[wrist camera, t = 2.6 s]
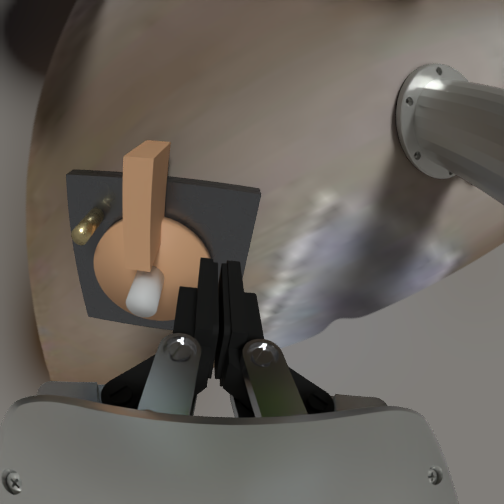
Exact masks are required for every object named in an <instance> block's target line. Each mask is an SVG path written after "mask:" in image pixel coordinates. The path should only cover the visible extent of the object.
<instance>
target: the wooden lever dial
mask: <svg viewBox="0 0 504 504" xmlns="http://www.w3.org/2000/svg"><path fill="white" fill-rule="evenodd" d="M170 144H171V142H163V141H150V140H146V141H145V142H143V143H142V144H140V145H139V146H138V147H136V148H135V149H133V150H132V151H130V152H129V153H128V154H126V155H125V156H124V158H123V219H121V220H119V221H118V222H116V223H115V224H113V225H112V226H111V227H110V228H109V229H108V230H107V231H106V232H105V234H104V235H103V237H102V238H101V240H100V241H99V243H98V245H97V247H96V250H95V254H94V271H95V275H96V278H97V280H98V283H99V285H100V286H101V288H102V290H103V291H104V293H105V294H106V295H107V296H108V297H109V298H110V299H111V300H112V301H113V302H114V303H115V304H116V305H118V306H119V307H120V308H122V309H123V310H125V311H127V312H129V313H131V314H133V315H135V316H138V317H141V318H145V319H149V320H157V321H168V320H175V313H176V306H177V299H178V293H179V287H180V286H184V287H193V288H197V286H198V277H199V267H200V258H201V257H202V258H211V257H210V255H209V252H208V250H207V248H206V247H205V245H204V243H203V242H202V241H201V240H200V238H199V237H198V236H197V235H196V234H195V233H194V232H193V231H191V230H190V229H189V228H187V227H186V226H184V225H183V224H181V223H179V222H177V221H175V220H173V219H171V218H167V217H164V213H165V197H166V184H167V173H168V162H169V153H170Z"/></svg>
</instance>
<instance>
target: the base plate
mask: <svg viewBox="0 0 504 504" xmlns="http://www.w3.org/2000/svg"><path fill="white" fill-rule="evenodd" d="M66 182H67V197H68V209H69V218H70V226H71V237H72V241H73V247H74V253H75V259H76V265H77V270H78V275H79V280H80V284H81V289H82V293H83V297H84V301H85V305H86V309H87V313H88V316H89V317H94V318H99V319H104V320H110V321H115V322H121V323H127V324H133V325H139V326H146V327H153V328H160V329H167V330H173V328H174V320H168V321H157V320H149V319H145V318H141V317H138V316H135V315H133V314H131V313H129V312H127V311H125V310H123V309H122V308H120V307H119V306H118V305H116V304H115V303H114V302H113V301H112V300H111V299H110V298H109V297H108V296H107V295H106V294H105V293H104V291H103V290H102V288H101V286H100V285H99V283H98V280H97V278H96V275H95V271H94V254H95V250H96V247H97V245H98V243H99V241H100V240H101V238H102V237H103V235H104V234H105V232H106V231H107V230H108V229H109V228H110V227H111V226H112V225H113V224H115V223H116V222H118V221H119V220H121V219H123V172H110V171H93V170H72V171H71V172H69V173H68V174H66ZM260 198H261V192H260V189H259V188H253V187H246V186H240V185H233V184H226V183H219V182H211V181H203V180H195V179H187V178H178V177H169V176H167V184H166V197H165V213H164V217H167V218H171V219H173V220H175V221H177V222H179V223H181V224H183V225H184V226H186V227H187V228H189V229H190V230H191V231H193V232H194V233H195V234H196V235H197V236H198V237H199V238H200V240H201V241H202V242H203V243H204V245H205V247H206V248H207V250H208V252H209V255H210V257H211V259H213V262H216V263H218V283H219V276H220V270H221V264H222V263H226V262H227V260H229V261H239V262H240V264H241V273H242V278H243V274H244V269H245V265H246V260H247V256H248V251H249V247H250V242H251V238H252V233H253V229H254V224H255V220H256V215H257V211H258V207H259V202H260Z"/></svg>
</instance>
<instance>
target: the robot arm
mask: <svg viewBox="0 0 504 504" xmlns="http://www.w3.org/2000/svg"><path fill="white" fill-rule="evenodd" d="M396 125H397V131H398V137H399V140H400V143H401V146H402V148H403V150H404V152H405V154H406V156H407V158H408V159H409V160H410V162H411V163H412V164H413V165H414V166H415V167H416V168H417V169H418V170H420V171H421V172H423V173H425V174H426V175H428V176H431V177H433V178H438V179H446V178H451V177H453V176H456V175H457V176H459V177H461V178H462V179H464V180H466V181H467V182H469V183H471V184H472V185H474V186H475V187H477V188H479V189H480V190H482V191H483V192H485V193H486V194H488V195H489V196H491V197H492V198H494V199H495V200H497V201H498V202H500V203H501V204H503V205H504V89H502V88H498V87H493V86H488V85H483V84H478V83H473V82H468V80H467V79H466V78H465V77H464V76H463V75H462V74H461V73H460V72H459V71H457V70H456V69H454V68H452V67H450V66H447V65H444V64H426V65H423V66H421V67H418V68H417V69H416V70H414V71H413V72H412V73H411V74H410V75H409V76H408V77H407V79H406V80H405V82H404V84H403V86H402V88H401V90H400V93H399V97H398V100H397V108H396ZM213 364H215V379H220V386H223V388H224V389H225V390H226V391H227V392H228V393H229V394H230V400H231V404H232V408H233V412H234V416H235V418H230V417H228V418H227V417H226V418H225V417H203V416H193V415H194V409H195V404H196V398H197V394H198V393H200V392H201V391H202V390H204V389H205V388H206V387H207V380H208V378H211V375H212V370H213ZM0 504H459V503H458V499H457V495H456V491H455V488H454V484H453V481H452V478H451V475H450V471H449V468H448V466H447V463H446V460H445V457H444V454H443V452H442V450H441V447H440V445H439V442H438V440H437V438H436V436H435V434H434V432H433V430H432V428H431V427H430V425H429V423H428V422H427V421H426V419H425V418H424V417H423V416H422V415H421V414H420V413H418V412H416V411H413V410H411V409H408V408H403V407H396V406H387V405H386V403H385V402H384V401H382V400H381V399H379V398H374V397H361V396H349V395H339V394H336V395H335V396H330V395H329V394H328V393H326V391H324V390H322V389H321V388H319V387H318V386H316V385H315V384H313V383H312V382H310V381H309V380H307V379H305V378H304V377H303V376H301V375H300V374H298V373H297V372H295V371H294V370H292V369H291V368H289V367H288V365H287V363H286V360H285V358H284V355H283V353H282V351H281V349H280V348H279V347H278V346H277V345H276V344H275V343H273V342H271V341H269V340H265V339H264V336H263V330H262V325H261V319H260V313H259V308H258V302H257V296H256V294H255V293H246V292H244V289H243V281H242V273H241V264H240V262H239V261H229V260H227V262H226V263H222V264H221V270H220V276H219V283H218V263H216V262H213V259H211V258H202V257H201V258H200V267H199V277H198V286H197V288H193V287H184V286H180V287H179V293H178V299H177V306H176V313H175V320H174V328H173V334H170V335H168V336H166V337H165V338H163V339H162V341H161V342H160V344H159V347H158V350H157V352H156V354H155V355H154V356H152V357H150V358H149V359H147V360H145V361H143V362H142V363H140V364H138V365H137V366H135V367H133V368H131V369H130V370H128V371H126V372H125V373H123V374H121V375H119V376H118V377H116V378H114V379H112V380H111V381H109V382H108V383H107V384H105V385H98V384H97V382H57V381H50V382H46V383H44V384H42V385H41V386H40V388H39V389H38V392H37V395H36V396H29V397H25V398H22V399H20V400H17V401H16V402H14V404H13V405H11V407H10V408H9V409H8V411H7V413H6V414H5V417H4V419H3V421H2V423H1V426H0Z"/></svg>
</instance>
